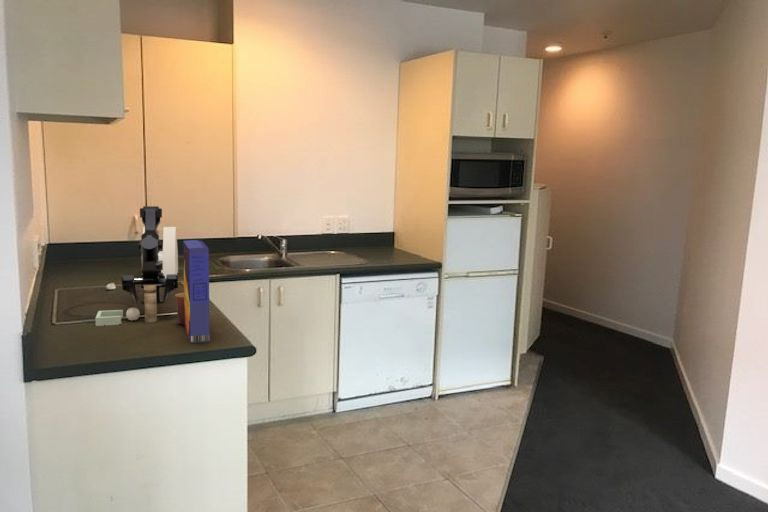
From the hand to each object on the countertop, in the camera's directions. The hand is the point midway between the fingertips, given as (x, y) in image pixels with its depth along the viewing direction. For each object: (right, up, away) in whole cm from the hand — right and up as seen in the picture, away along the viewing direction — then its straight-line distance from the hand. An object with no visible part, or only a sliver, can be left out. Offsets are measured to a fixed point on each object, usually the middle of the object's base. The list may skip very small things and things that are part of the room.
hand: (150, 301), depth 214 cm
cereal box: (+20, -10, -13) cm, 26 cm away
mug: (+14, -8, +2) cm, 16 cm away
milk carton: (-31, +6, +95) cm, 100 cm away
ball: (-7, -5, +2) cm, 9 cm away
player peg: (-1, -7, +2) cm, 7 cm away
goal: (-14, -7, 0) cm, 16 cm away
